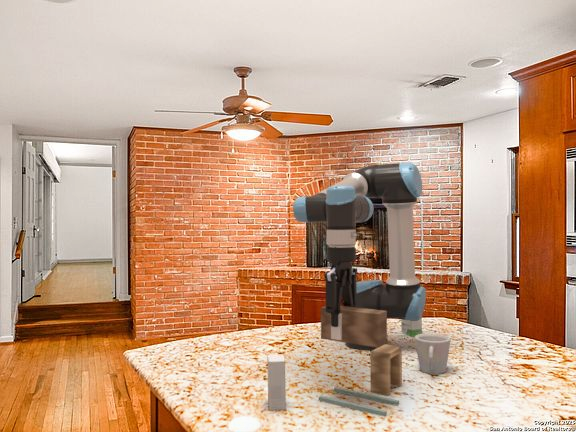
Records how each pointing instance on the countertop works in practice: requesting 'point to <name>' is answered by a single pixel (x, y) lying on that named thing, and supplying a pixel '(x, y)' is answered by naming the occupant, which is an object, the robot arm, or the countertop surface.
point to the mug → (432, 352)
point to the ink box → (411, 327)
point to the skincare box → (276, 382)
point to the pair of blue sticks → (358, 406)
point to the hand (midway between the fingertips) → (341, 336)
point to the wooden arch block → (385, 368)
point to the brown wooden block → (358, 326)
